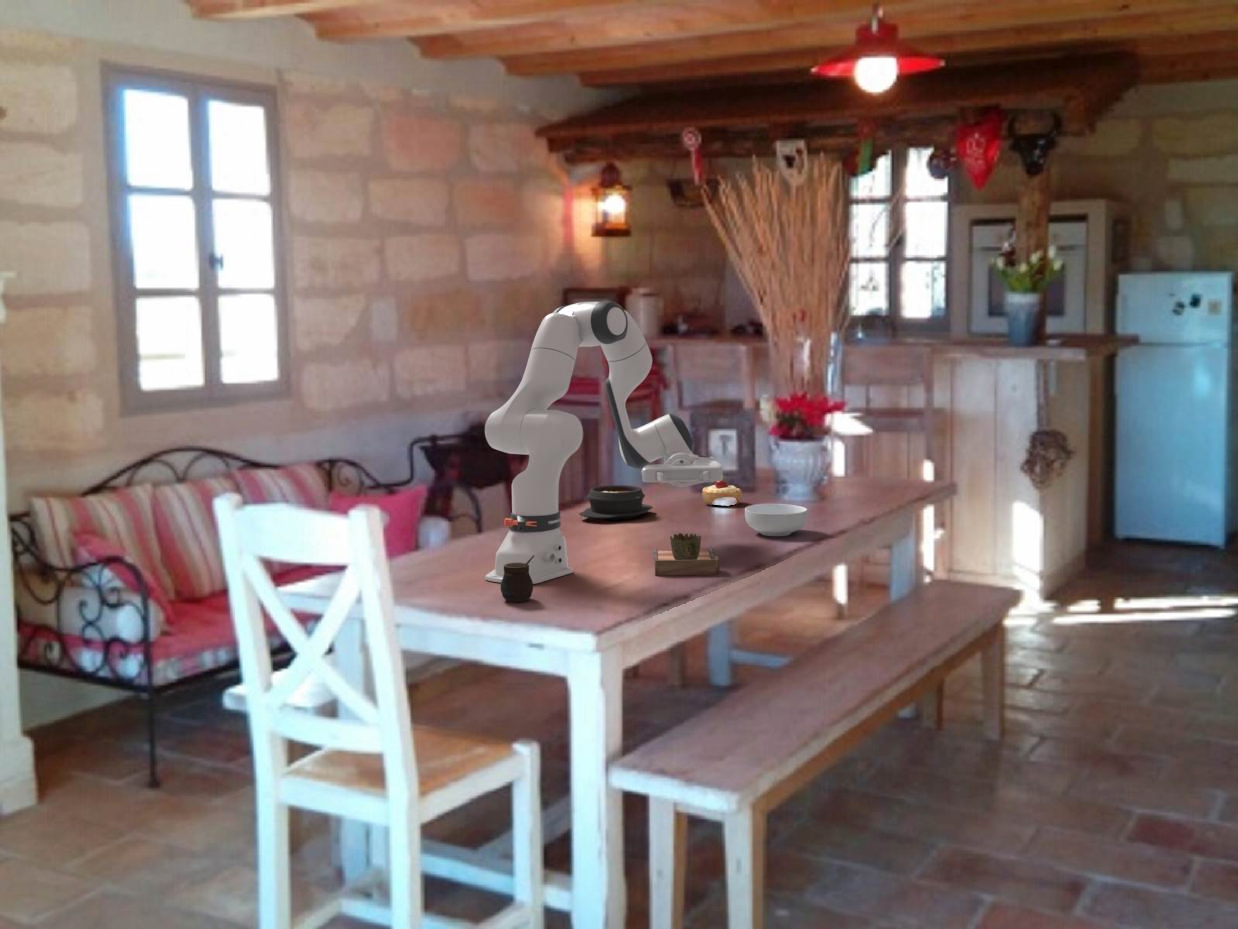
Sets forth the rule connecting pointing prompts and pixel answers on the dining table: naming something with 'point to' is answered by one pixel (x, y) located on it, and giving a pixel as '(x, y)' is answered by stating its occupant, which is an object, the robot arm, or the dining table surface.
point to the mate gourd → (517, 582)
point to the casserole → (615, 502)
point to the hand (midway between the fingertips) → (683, 477)
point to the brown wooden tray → (686, 564)
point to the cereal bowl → (775, 518)
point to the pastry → (720, 492)
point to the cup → (685, 546)
